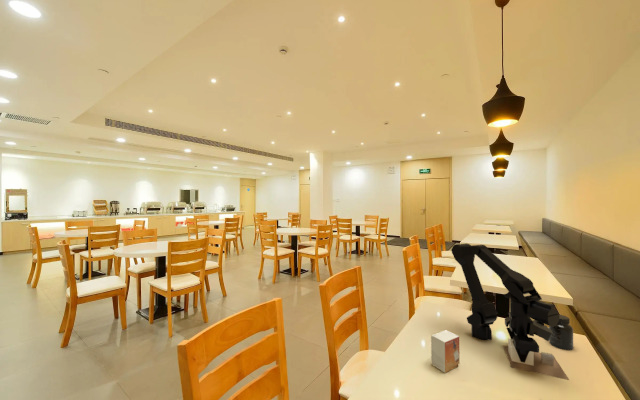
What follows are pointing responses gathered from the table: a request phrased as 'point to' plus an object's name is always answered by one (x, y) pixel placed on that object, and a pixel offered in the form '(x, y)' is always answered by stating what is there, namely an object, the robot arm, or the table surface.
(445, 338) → the small box
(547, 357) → the upright wooden block
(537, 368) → the base plate
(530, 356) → the white carton
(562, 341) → the supplement bottle
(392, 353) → the table surface
